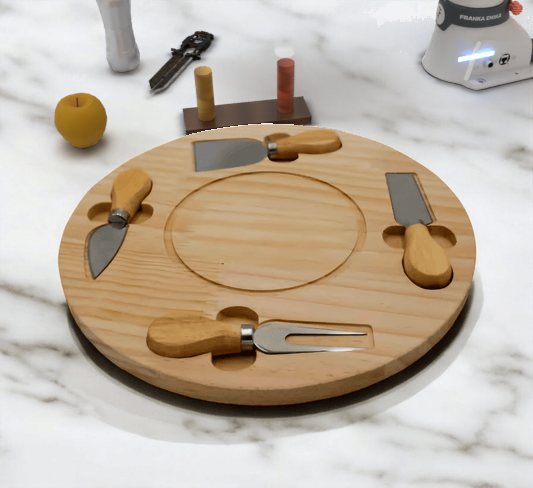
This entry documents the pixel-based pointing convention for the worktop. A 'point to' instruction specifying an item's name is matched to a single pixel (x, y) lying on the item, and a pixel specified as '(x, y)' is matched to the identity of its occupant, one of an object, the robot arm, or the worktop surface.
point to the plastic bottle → (119, 34)
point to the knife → (184, 61)
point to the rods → (246, 104)
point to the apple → (80, 119)
